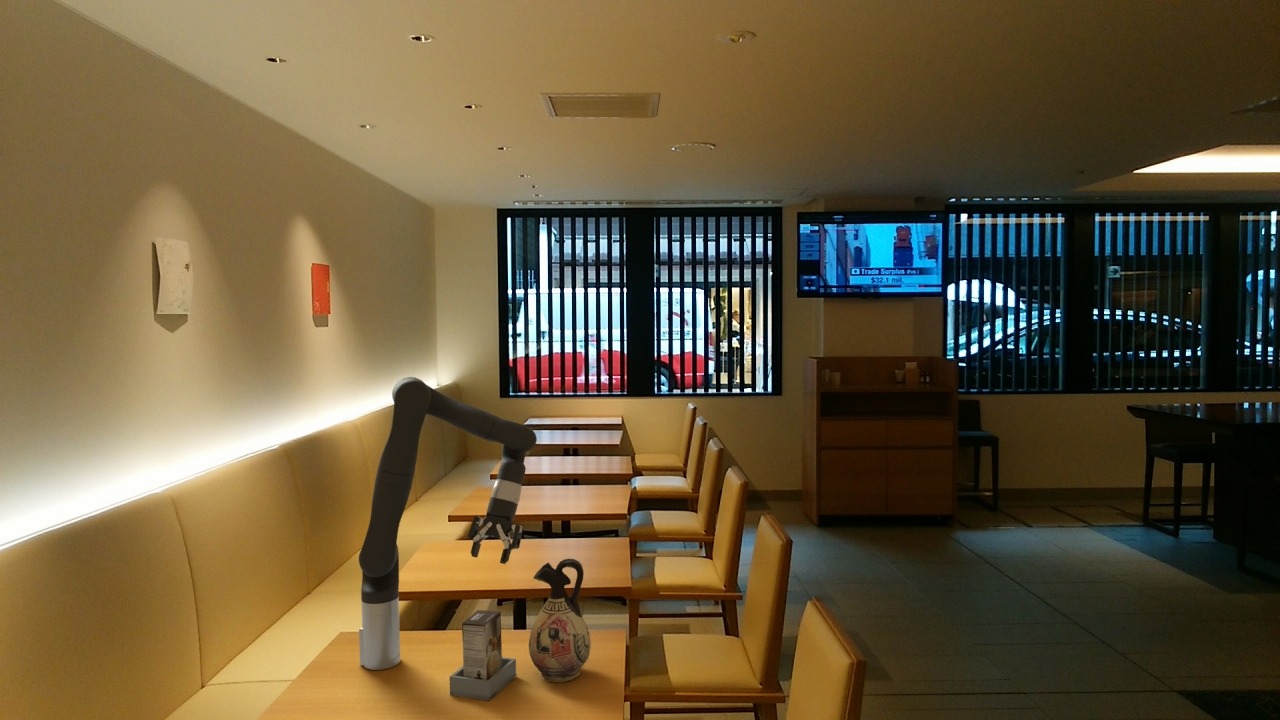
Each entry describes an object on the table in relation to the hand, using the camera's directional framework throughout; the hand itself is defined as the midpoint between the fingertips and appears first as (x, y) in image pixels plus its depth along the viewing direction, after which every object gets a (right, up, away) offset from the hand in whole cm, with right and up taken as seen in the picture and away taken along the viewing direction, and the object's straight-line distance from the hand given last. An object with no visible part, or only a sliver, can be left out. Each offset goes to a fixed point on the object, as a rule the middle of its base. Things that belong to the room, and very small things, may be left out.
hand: (488, 560), depth 213 cm
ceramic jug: (+20, -27, -9) cm, 35 cm away
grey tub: (+2, -27, -14) cm, 31 cm away
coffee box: (+1, -26, -14) cm, 30 cm away
